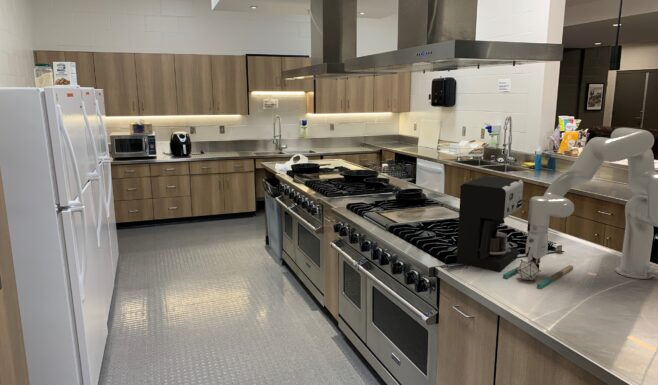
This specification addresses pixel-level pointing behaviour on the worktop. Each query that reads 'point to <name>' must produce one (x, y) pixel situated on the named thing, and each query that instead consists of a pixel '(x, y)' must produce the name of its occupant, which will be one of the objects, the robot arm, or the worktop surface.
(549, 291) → the worktop surface
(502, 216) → the coffee maker
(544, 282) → the pair of wooden rods
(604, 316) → the worktop surface
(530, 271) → the game die
